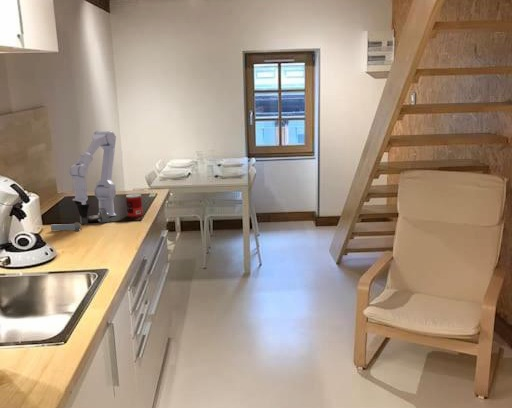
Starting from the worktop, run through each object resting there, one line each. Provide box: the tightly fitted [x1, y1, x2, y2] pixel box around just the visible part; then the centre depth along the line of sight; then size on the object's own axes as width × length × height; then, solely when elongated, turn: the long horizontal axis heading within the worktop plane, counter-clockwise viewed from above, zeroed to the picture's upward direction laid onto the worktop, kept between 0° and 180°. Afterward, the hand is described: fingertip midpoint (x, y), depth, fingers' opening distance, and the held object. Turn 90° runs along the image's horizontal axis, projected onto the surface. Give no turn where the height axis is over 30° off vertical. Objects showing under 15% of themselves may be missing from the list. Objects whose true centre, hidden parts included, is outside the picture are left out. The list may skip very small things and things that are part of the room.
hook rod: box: [79, 213, 111, 226], centre depth 261 cm, size 4×14×4 cm, turn 117°
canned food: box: [125, 193, 144, 218], centre depth 271 cm, size 8×8×11 cm
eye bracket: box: [97, 207, 111, 224], centre depth 262 cm, size 6×5×6 cm
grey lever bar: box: [50, 221, 81, 232], centre depth 248 cm, size 14×2×3 cm, turn 90°
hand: (83, 216), depth 258 cm, fingers open, 7 cm apart
